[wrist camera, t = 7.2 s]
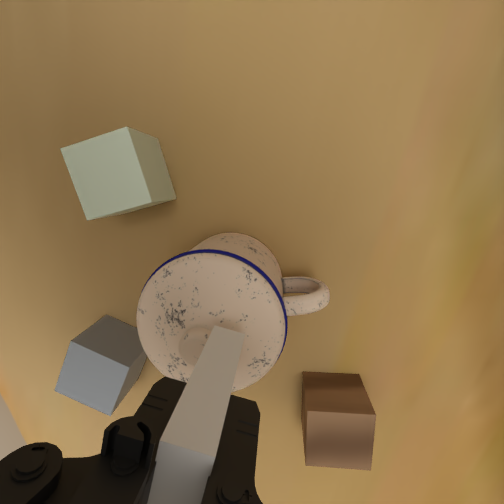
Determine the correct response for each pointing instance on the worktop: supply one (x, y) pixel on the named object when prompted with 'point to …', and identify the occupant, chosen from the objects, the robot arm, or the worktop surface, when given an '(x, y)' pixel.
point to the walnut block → (337, 421)
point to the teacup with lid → (222, 306)
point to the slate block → (102, 365)
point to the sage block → (118, 173)
